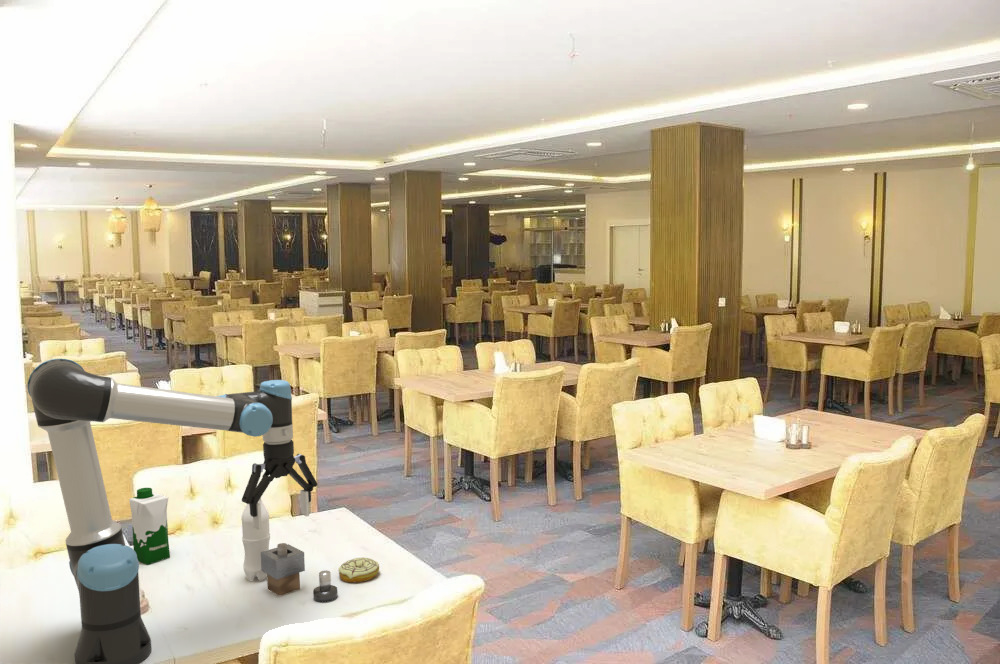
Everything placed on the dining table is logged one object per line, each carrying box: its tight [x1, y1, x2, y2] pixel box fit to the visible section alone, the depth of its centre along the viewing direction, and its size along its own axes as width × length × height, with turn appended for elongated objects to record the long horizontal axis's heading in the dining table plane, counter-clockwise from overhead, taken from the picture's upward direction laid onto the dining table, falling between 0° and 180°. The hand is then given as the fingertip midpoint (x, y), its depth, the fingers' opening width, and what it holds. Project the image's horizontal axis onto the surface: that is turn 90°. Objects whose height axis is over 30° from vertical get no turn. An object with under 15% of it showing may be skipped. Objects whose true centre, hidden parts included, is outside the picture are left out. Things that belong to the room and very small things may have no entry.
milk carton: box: [128, 487, 171, 566], centre depth 231 cm, size 9×9×20 cm
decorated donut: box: [338, 557, 380, 584], centre depth 219 cm, size 10×11×4 cm
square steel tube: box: [261, 543, 306, 580], centre depth 210 cm, size 8×8×5 cm
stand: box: [266, 542, 301, 597], centre depth 210 cm, size 6×6×12 cm
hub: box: [312, 570, 339, 604], centre depth 205 cm, size 6×6×6 cm
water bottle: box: [240, 485, 271, 582], centre depth 217 cm, size 7×7×25 cm
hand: (282, 521), depth 209 cm, fingers open, 13 cm apart
